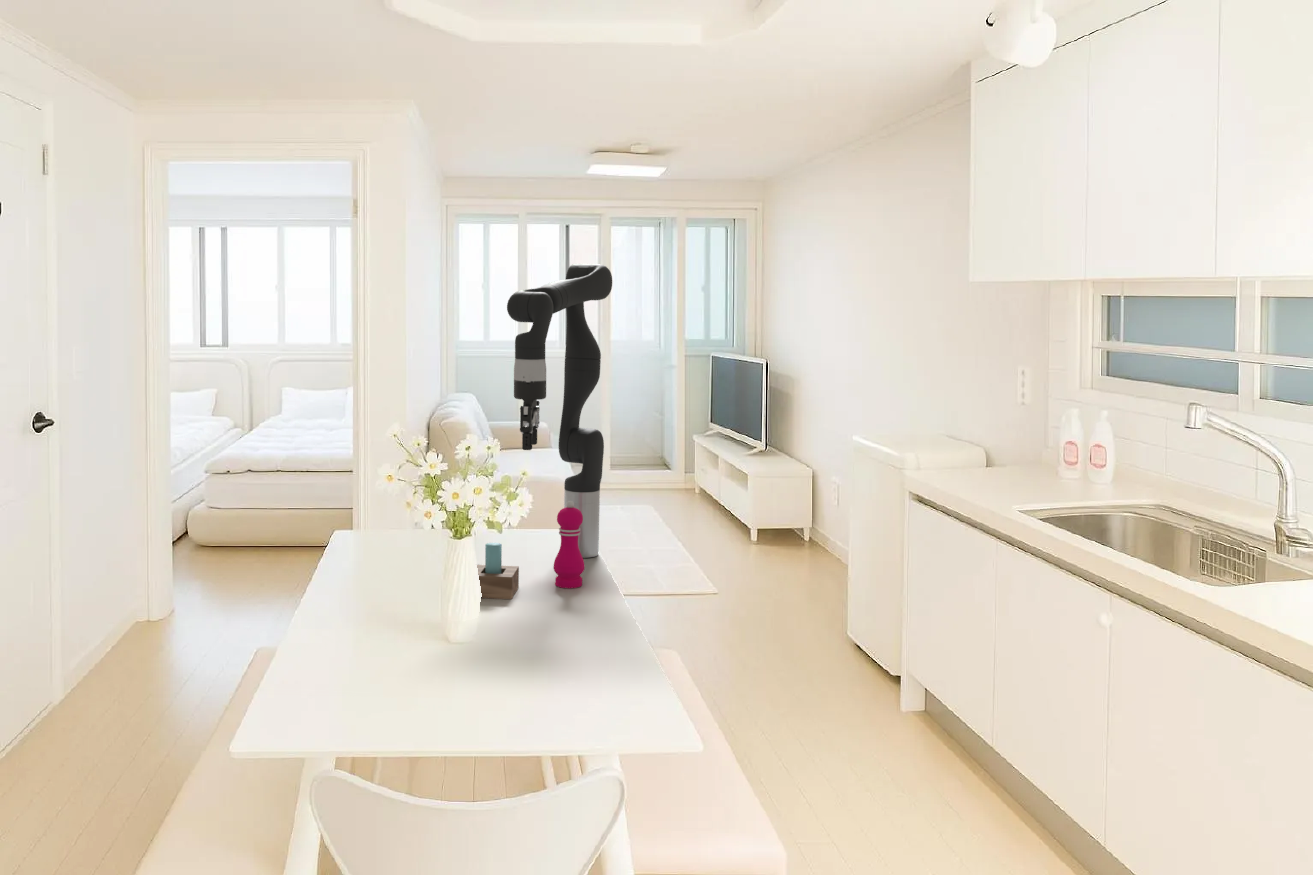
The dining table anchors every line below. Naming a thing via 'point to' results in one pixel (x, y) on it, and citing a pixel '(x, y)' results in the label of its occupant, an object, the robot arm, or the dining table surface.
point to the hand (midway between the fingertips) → (529, 447)
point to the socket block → (499, 582)
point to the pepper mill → (569, 548)
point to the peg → (493, 558)
